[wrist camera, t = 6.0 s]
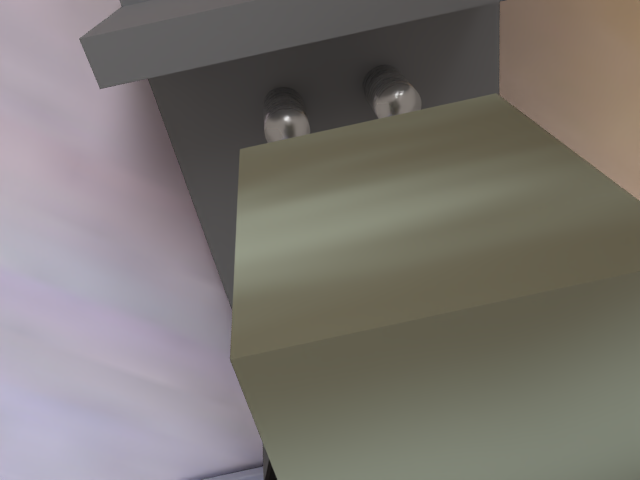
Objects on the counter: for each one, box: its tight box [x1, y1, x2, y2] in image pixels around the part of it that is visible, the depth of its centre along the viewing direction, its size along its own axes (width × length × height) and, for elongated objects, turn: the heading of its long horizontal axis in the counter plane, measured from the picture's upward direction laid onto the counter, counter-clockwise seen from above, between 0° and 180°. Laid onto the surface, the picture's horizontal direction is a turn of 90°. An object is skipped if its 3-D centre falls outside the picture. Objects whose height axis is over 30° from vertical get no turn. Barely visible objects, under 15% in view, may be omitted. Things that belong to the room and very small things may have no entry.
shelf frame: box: [79, 0, 505, 480], centre depth 17 cm, size 17×10×5 cm, turn 10°
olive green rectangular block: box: [230, 93, 640, 480], centre depth 10 cm, size 12×4×5 cm, turn 10°
